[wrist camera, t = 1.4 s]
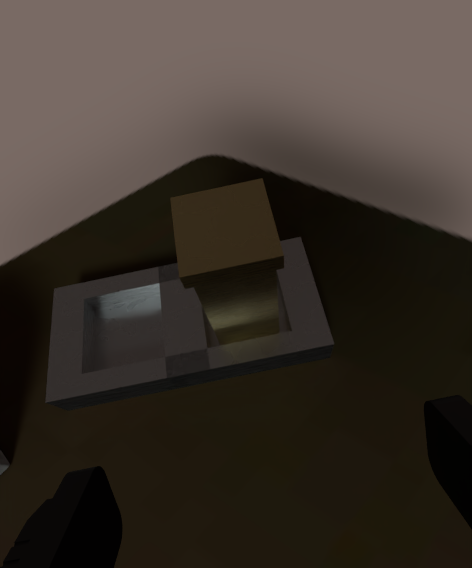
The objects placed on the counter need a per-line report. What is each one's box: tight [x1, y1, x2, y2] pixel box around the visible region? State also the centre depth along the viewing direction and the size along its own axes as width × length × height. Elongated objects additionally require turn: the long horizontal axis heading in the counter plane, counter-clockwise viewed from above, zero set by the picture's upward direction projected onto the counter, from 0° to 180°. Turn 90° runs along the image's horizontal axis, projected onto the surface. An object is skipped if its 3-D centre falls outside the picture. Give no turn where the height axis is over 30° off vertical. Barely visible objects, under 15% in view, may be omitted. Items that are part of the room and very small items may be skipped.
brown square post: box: [170, 178, 284, 345], centre depth 25 cm, size 5×5×11 cm
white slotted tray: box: [45, 237, 334, 410], centre depth 29 cm, size 20×9×3 cm, turn 100°
